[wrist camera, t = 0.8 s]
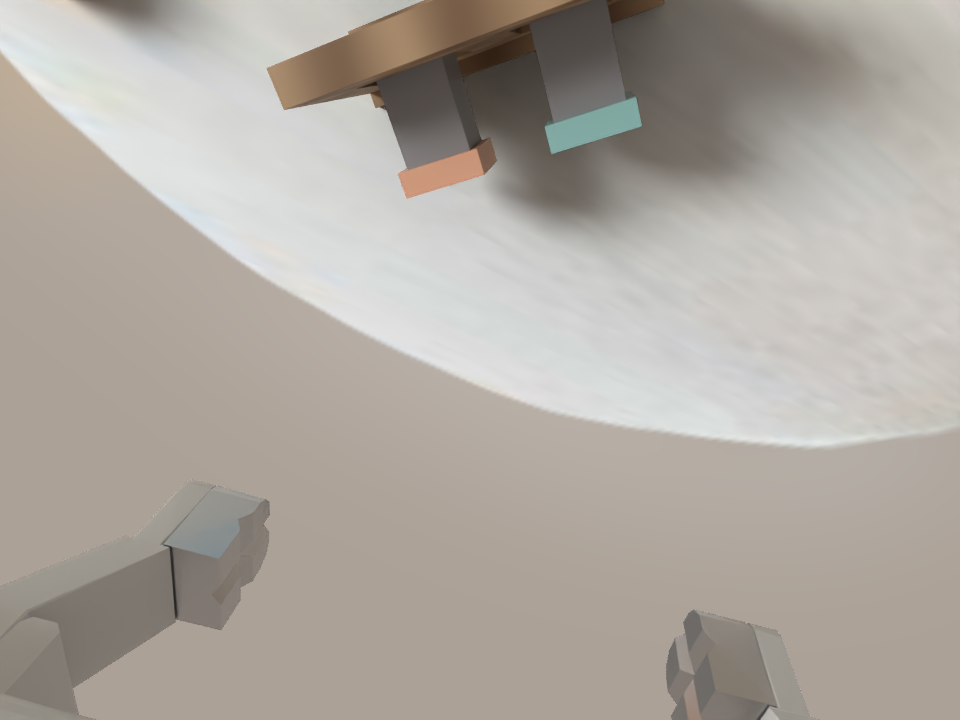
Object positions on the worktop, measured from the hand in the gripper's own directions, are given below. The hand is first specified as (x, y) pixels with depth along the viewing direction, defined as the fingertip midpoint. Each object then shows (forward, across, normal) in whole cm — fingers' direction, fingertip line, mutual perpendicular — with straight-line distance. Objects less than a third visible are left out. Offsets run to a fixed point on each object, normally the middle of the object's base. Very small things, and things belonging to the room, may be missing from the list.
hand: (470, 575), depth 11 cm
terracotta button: (+32, +8, -4) cm, 33 cm away
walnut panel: (+36, +6, -10) cm, 38 cm away
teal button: (+32, 0, -9) cm, 33 cm away
